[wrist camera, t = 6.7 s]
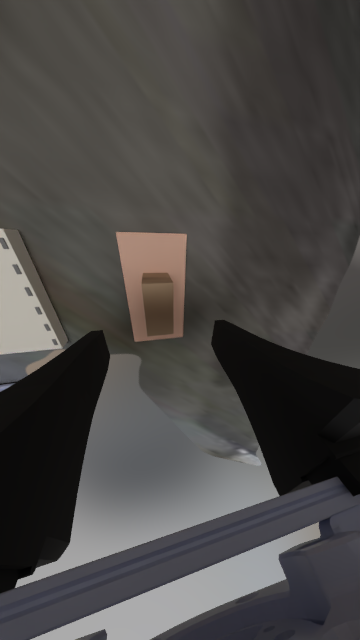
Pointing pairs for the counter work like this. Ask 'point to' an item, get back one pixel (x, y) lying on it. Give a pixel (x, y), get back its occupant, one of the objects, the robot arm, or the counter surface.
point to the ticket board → (24, 302)
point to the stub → (154, 282)
